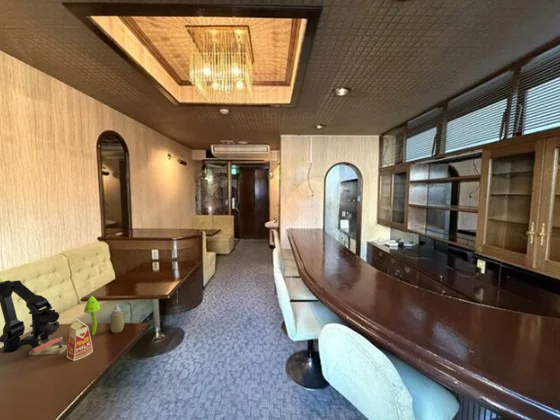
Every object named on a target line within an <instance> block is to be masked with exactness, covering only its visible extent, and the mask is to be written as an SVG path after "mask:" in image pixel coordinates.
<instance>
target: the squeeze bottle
mask: <svg viewBox="0 0 560 420" xmlns="http://www.w3.org/2000/svg"><path fill="white" fill-rule="evenodd" d="M109 323H110V324H109V328H110V330H111V333H113V334H118V333H120V332H123V330H124V327H125V319H124V313H123V311H122V308H121V307H119V304H118V303H115V305H114V307H113V309H112V312H111V314H110V322H109Z"/></svg>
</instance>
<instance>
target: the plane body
mask: <svg viewBox="0 0 560 420" xmlns="http://www.w3.org/2000/svg"><path fill="white" fill-rule="evenodd" d="M67 350H68V344H63V340H62V341H59V342H58V345H52V346H51V347H50V348H48V349H47V350H46V351H37V352H33V348H32V347H31V350H30V351H29V353H28V354H29V356H39V355H40V356H41V355H42V356H44V355H58V354H59V355H60V354H62V353H63V352H65V351H67Z"/></svg>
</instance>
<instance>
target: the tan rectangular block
mask: <svg viewBox="0 0 560 420" xmlns="http://www.w3.org/2000/svg"><path fill="white" fill-rule="evenodd" d="M50 341H52V339H49V338H48V339H47V340H40V341H39V346H41V345H43V344H45V343H47V342H50ZM51 346H53V345H51ZM51 346H48V347H46V348H44V349H42V350H40V351H46V350H47V349H48V348H50V347H51Z"/></svg>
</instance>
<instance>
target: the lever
mask: <svg viewBox="0 0 560 420" xmlns="http://www.w3.org/2000/svg"><path fill="white" fill-rule="evenodd" d="M59 341H62V342H63V336H60V337H57V338H54V339H51V341H50V342H47V343H45V344H43V345H41V346H38V347H36V348H34V349H33V352H37V351H40V350H42V349H44V348H46V347H48V346H51V345H52V346H54V344H57V343H59Z"/></svg>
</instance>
